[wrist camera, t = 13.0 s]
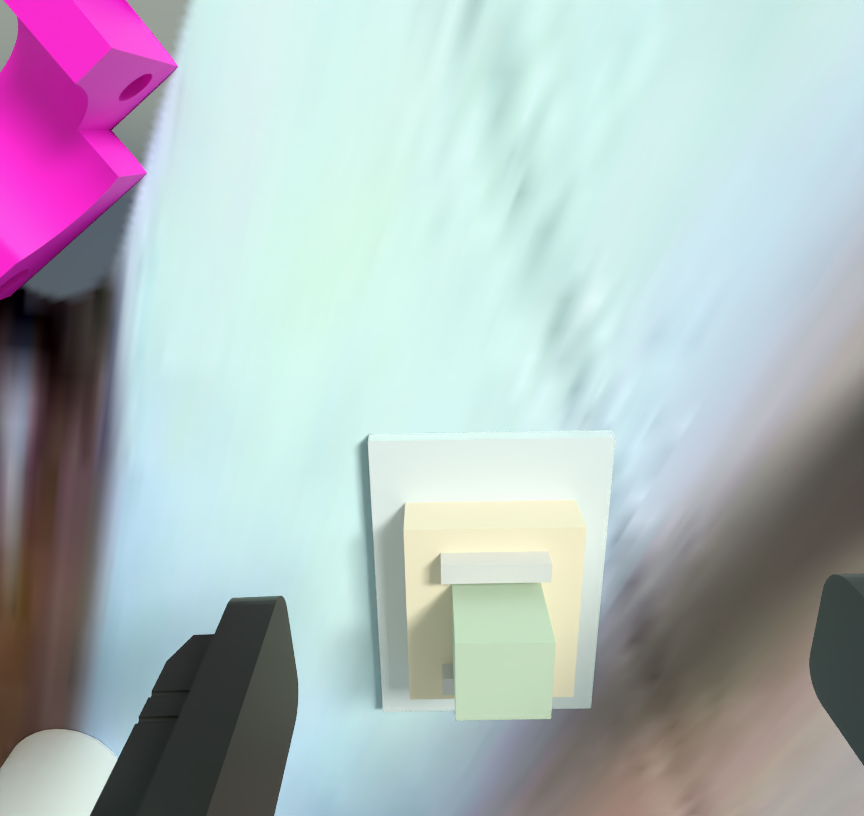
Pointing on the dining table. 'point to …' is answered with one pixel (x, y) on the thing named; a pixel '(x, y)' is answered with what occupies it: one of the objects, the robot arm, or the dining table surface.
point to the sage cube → (502, 652)
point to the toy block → (68, 123)
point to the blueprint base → (484, 482)
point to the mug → (54, 774)
